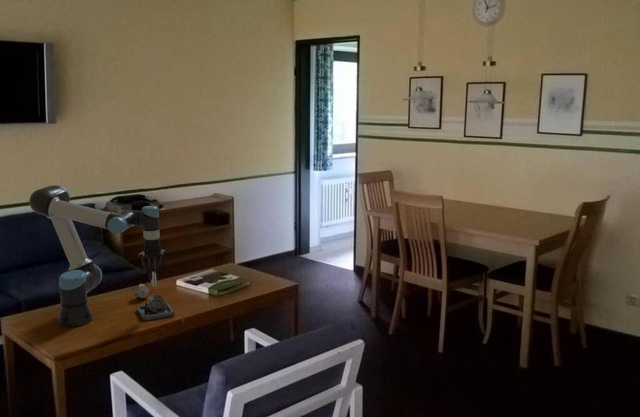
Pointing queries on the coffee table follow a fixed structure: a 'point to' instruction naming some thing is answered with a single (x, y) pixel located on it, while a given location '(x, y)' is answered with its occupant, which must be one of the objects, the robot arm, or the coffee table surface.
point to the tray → (151, 316)
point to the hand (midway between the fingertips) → (154, 285)
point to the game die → (141, 291)
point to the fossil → (155, 304)
